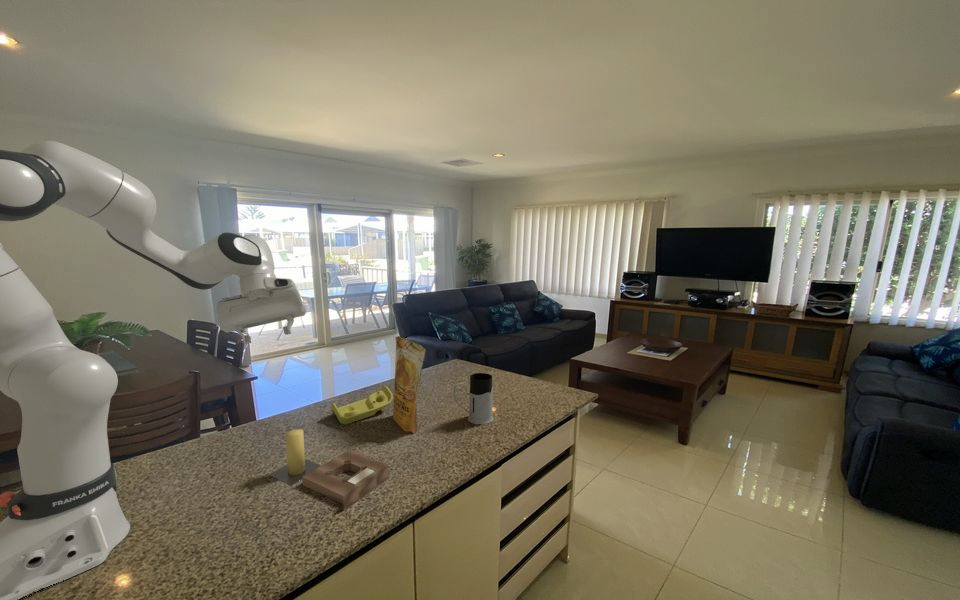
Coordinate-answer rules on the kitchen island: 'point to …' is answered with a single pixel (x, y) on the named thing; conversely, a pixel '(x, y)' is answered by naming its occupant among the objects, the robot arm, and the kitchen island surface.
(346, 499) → the hole block
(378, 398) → the plastic component
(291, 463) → the peg
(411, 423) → the pancake mix bag
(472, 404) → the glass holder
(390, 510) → the kitchen island surface
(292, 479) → the plate
